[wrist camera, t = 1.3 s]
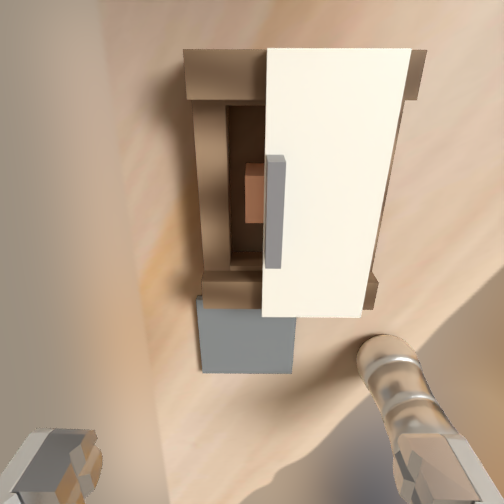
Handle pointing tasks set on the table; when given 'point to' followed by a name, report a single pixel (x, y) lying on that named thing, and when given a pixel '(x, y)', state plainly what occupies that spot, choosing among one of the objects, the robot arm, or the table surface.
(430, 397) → the plastic bottle
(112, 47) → the table surface
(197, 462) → the table surface
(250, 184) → the block
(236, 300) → the wooden box
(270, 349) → the coaster
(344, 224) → the lid
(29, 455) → the robot arm
